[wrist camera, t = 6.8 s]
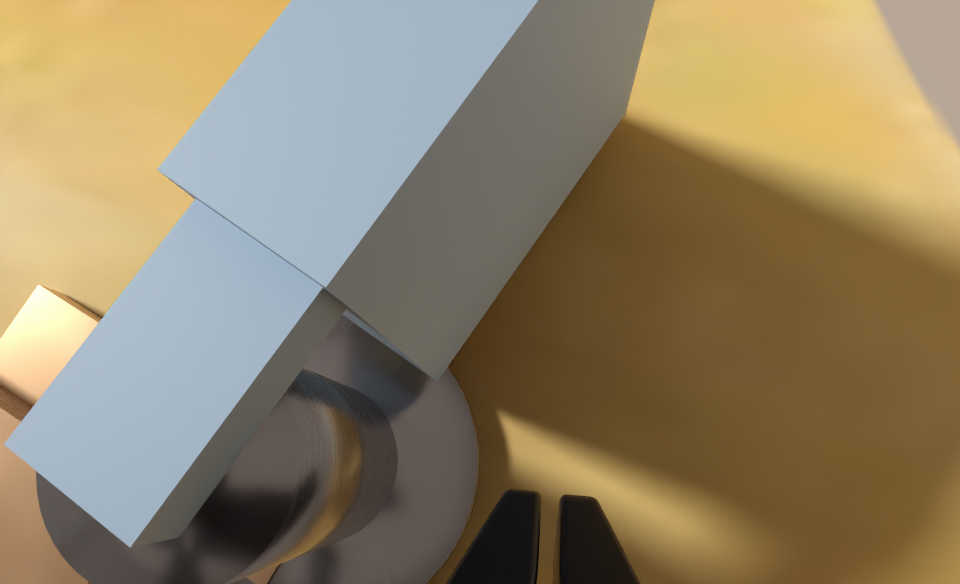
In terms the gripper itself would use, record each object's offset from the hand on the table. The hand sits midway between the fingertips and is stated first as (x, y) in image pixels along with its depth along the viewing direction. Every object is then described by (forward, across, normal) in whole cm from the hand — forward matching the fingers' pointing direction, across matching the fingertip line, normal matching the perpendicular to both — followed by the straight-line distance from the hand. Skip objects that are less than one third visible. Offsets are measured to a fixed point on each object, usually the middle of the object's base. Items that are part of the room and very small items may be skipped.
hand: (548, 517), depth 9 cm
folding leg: (+7, +2, +1) cm, 7 cm away
